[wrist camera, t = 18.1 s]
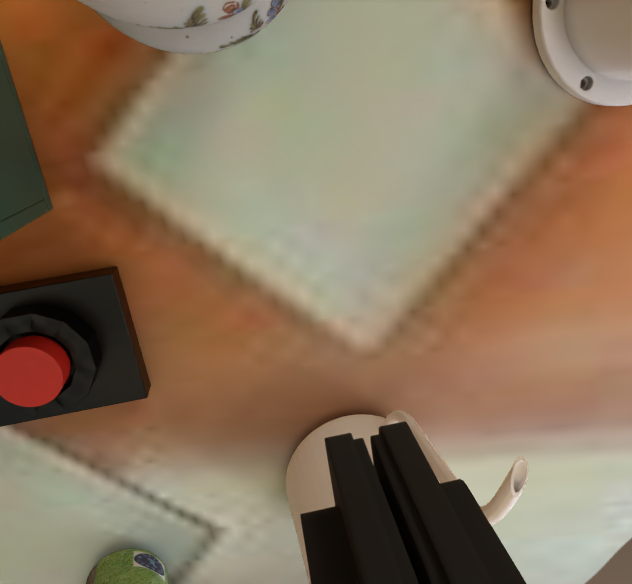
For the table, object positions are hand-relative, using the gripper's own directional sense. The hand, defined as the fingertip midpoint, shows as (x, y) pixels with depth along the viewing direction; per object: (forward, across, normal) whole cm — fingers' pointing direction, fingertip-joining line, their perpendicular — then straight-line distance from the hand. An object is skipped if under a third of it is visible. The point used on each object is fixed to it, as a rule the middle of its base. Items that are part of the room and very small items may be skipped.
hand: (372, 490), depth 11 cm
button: (+24, +16, +6) cm, 30 cm away
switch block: (+27, +16, +6) cm, 32 cm away
